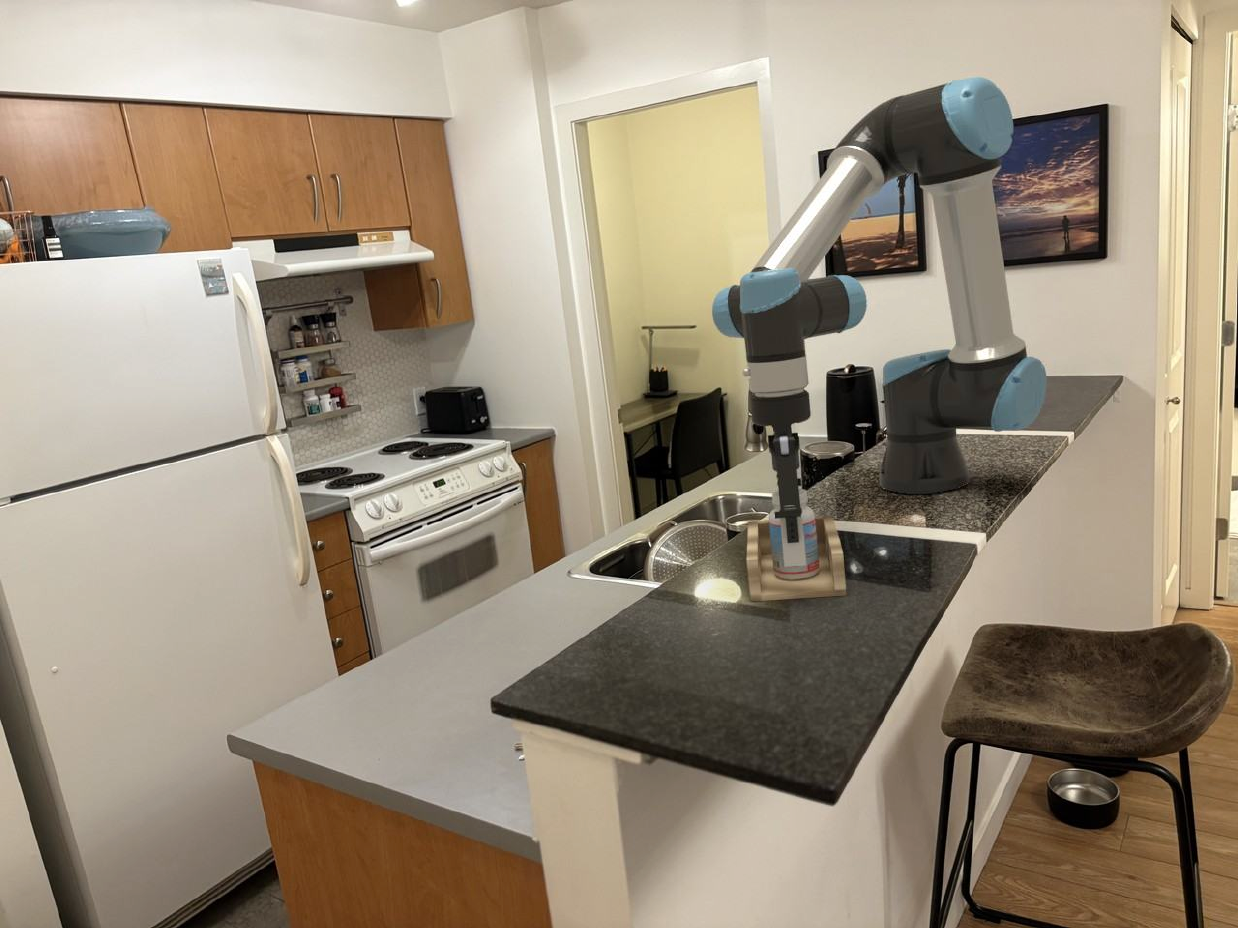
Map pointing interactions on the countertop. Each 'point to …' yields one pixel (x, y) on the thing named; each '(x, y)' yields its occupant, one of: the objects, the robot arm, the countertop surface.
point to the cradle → (776, 588)
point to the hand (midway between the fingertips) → (793, 549)
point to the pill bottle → (809, 541)
